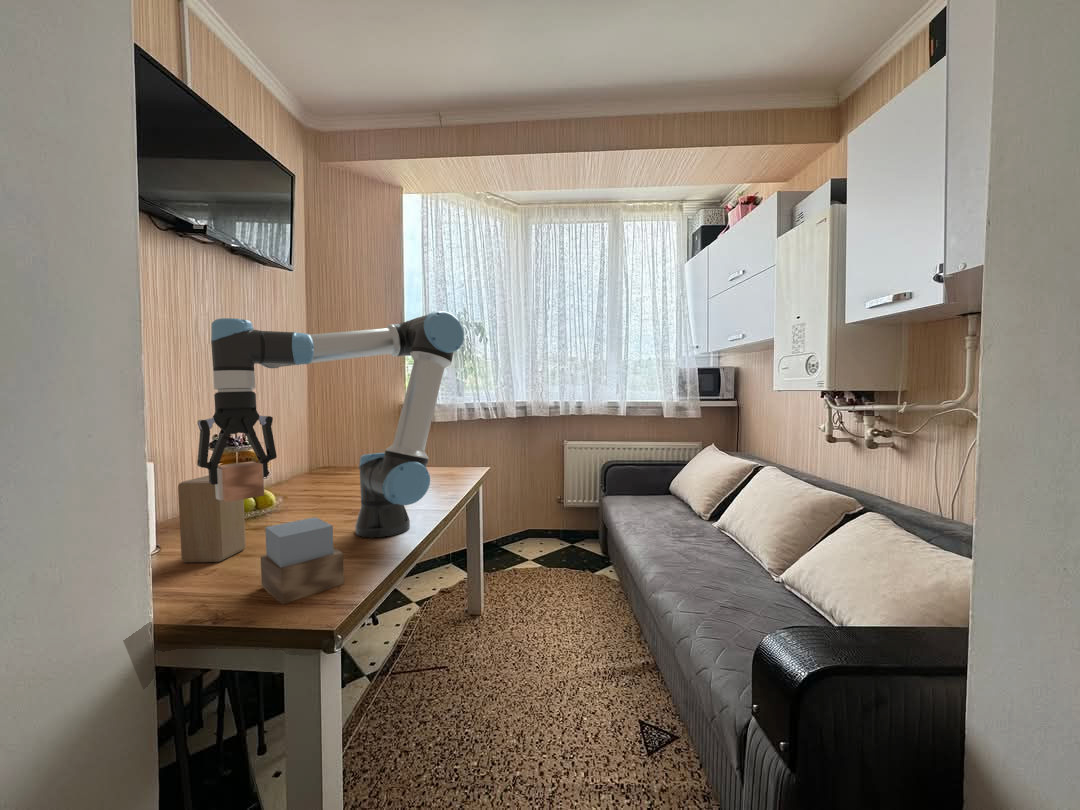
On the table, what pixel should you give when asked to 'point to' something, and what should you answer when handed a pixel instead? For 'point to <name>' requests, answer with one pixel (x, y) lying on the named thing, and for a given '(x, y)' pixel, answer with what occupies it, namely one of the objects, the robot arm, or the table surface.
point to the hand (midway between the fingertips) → (240, 495)
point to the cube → (242, 481)
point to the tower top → (299, 541)
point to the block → (208, 523)
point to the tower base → (302, 577)
